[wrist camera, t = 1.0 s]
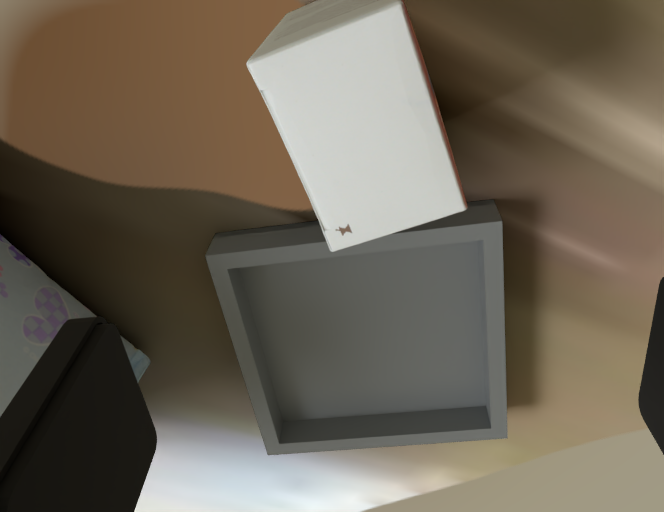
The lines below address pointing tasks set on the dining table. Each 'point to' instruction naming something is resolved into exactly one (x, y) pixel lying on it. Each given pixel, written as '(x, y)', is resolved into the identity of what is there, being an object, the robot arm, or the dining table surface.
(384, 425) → the tray
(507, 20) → the dining table surface
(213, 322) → the dining table surface
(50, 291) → the lunch bag
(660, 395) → the robot arm
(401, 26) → the small box
